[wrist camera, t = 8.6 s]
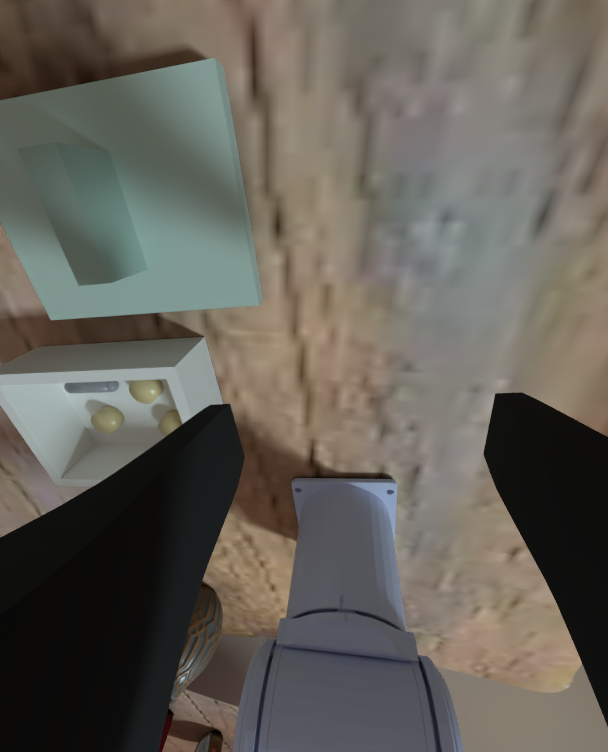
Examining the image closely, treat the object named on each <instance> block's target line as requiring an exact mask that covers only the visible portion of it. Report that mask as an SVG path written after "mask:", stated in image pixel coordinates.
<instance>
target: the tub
mask: <svg viewBox="0 0 608 752" xmlns="http://www.w3.org/2000/svg"><path fill="white" fill-rule="evenodd" d="M216 404H223V402H222V398H221V394H220V391H219V387H218V384H217V380H216V376H215V373H214V369H213V366H212V362H211V358H210V355H209V351H208V348H207V344H206V340H205V337H193V338H177V339H160V340H143V341H126V342H109V343H92V344H76V345H59V346H42V347H37V348H35V349H33V350H31V351H29V352H27V353H25V354H23V355H21V356H19V357H17V358H15V359H13V360H11V361H9V362H7V363H5V364H2V365H0V405H1V407H2V408H3V410H4V411H5V412H6V414H7V415H8V417H9V418H10V420H11V421H12V423H13V424H14V425H15V427H16V428H17V430H18V431H19V433H20V434H21V436H22V437H23V439H24V440H25V441H26V443H27V444H28V446H29V447H30V449H31V450H32V452H33V453H34V454H35V456H36V457H37V459H38V460H39V462H40V463H41V465H42V466H43V467H44V469H45V470H46V472H47V473H48V475H49V476H50V478H51V479H52V480H53V482H54V483H55V485H56V486H83V487H93V486H95V485H96V484H98V483H99V482H101V481H103V480H104V479H106V478H107V477H109V476H110V475H112V474H113V473H115V472H116V471H118V470H119V469H121V468H122V467H124V466H125V465H126V464H128V463H129V462H131V461H132V460H134V459H135V458H137V457H138V456H139V455H141V454H142V453H144V452H145V451H147V450H148V449H150V448H151V447H152V446H154V445H155V444H156V443H158V442H159V441H160V440H162V439H163V438H165V437H166V436H167V435H169V434H170V433H171V432H173V431H174V430H175V429H177V428H178V427H179V426H181V425H182V424H183V423H185V422H186V421H187V420H189V419H190V418H192V417H193V416H194V415H196V414H197V413H199V412H200V411H201V410H203V409H204V408H206V407H208V406H209V405H216Z"/></svg>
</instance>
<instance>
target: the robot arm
mask: <svg viewBox="0 0 608 752" xmlns="http://www.w3.org/2000/svg"><path fill="white" fill-rule="evenodd" d="M244 457H245V456H244V452H243V449H242V445H241V442H240V438H239V435H238V431H237V427H236V424H235V420H234V417H233V413H232V410H231V406H230V404H216V405H209V406H208V407H206V408H204V409H203V410H201V411H200V412H199V413H197V414H196V415H194V416H193V417H192V418H190V419H189V420H187V421H186V422H185V423H183V424H182V425H181V426H179V427H178V428H177V429H175V430H174V431H173V432H171V433H170V434H169V435H167V436H166V437H165V438H163V439H162V440H160V441H159V442H158V443H156V444H155V445H154V446H152V447H151V448H150V449H148V450H147V451H145V452H144V453H142V454H141V455H139V456H138V457H137V458H135V459H134V460H132V461H131V462H129V463H128V464H126V465H125V466H124V467H122V468H121V469H119V470H118V471H116V472H115V473H113V474H112V475H110V476H109V477H107V478H106V479H104V480H103V481H101V482H99V483H98V484H96V485H95V486H93V487H91V488H90V489H88V490H86V491H85V492H83V493H81V494H80V495H78V496H76V497H75V498H73V499H71V500H70V501H68V502H66V503H64V504H63V505H61V506H59V507H57V508H56V509H54V510H52V511H50V512H48V513H46V514H44V515H42V516H41V517H39V518H37V519H35V520H33V521H31V522H29V523H27V524H25V525H24V526H22V527H20V528H18V529H16V530H14V531H12V532H10V533H8V534H7V535H5V536H3V537H1V538H0V752H159V748H160V743H161V738H162V733H163V729H164V725H165V721H166V716H167V712H168V708H169V704H170V700H171V695H172V691H173V687H174V683H175V679H176V674H177V670H178V667H179V663H180V659H181V655H182V651H183V647H184V644H185V640H186V636H187V632H188V628H189V625H190V621H191V618H192V614H193V611H194V607H195V604H196V600H197V597H198V593H199V590H200V586H201V583H202V580H203V577H204V574H205V571H206V568H207V565H208V563H209V560H210V557H211V555H212V552H213V550H214V547H215V545H216V542H217V539H218V537H219V534H220V532H221V529H222V527H223V524H224V521H225V519H226V516H227V514H228V511H229V508H230V506H231V503H232V500H233V498H234V495H235V492H236V490H237V487H238V483H239V479H240V475H241V471H242V466H243V462H244ZM484 457H485V459H486V462H487V465H488V468H489V471H490V473H491V476H492V478H493V481H494V484H495V486H496V489H497V491H498V493H499V495H500V497H501V498H502V500H503V502H504V504H505V506H506V508H507V510H508V512H509V514H510V515H511V517H512V519H513V521H514V523H515V525H516V527H517V528H518V530H519V532H520V534H521V536H522V538H523V540H524V541H525V543H526V545H527V547H528V549H529V551H530V552H531V554H532V556H533V558H534V560H535V562H536V564H537V565H538V567H539V569H540V571H541V573H542V575H543V576H544V578H545V580H546V582H547V584H548V586H549V588H550V590H551V592H552V594H553V597H554V599H555V601H556V603H557V605H558V607H559V610H560V612H561V614H562V617H563V619H564V621H565V624H566V626H567V628H568V631H569V633H570V635H571V638H572V640H573V642H574V645H575V647H576V649H577V652H578V654H579V656H580V659H581V661H582V664H583V666H584V668H585V671H586V674H587V676H588V679H589V681H590V683H591V686H592V688H593V691H594V693H595V696H596V698H597V701H598V703H599V706H600V708H601V711H602V713H603V715H604V718H605V721H606V723H607V726H608V437H607V436H605V435H603V434H601V433H599V432H597V431H595V430H593V429H591V428H590V427H588V426H586V425H584V424H582V423H580V422H578V421H576V420H575V419H573V418H571V417H569V416H567V415H565V414H563V413H562V412H560V411H558V410H556V409H554V408H552V407H550V406H548V405H546V404H544V403H543V402H541V401H539V400H537V399H535V398H533V397H530V396H528V395H526V394H524V393H498V394H495V399H494V404H493V409H492V414H491V419H490V424H489V429H488V434H487V439H486V444H485V449H484ZM291 486H292V492H293V498H294V503H295V509H296V514H297V520H298V526H299V529H298V536H297V543H296V550H295V558H294V565H293V572H292V579H291V586H290V593H289V600H288V608H287V615H286V618H281V619H280V622H279V629H278V635H277V638H267V639H266V640H265V641H264V642H263V644H262V645H261V646H260V647H259V648H258V649H257V651H256V652H255V653H254V656H253V657H252V660H251V662H250V665H249V669H248V672H247V675H246V679H245V683H244V688H243V692H242V696H241V701H240V706H239V712H238V717H237V724H236V730H235V737H234V745H233V752H464V750H463V745H462V740H461V734H460V730H459V725H458V721H457V716H456V713H455V709H454V705H453V702H452V698H451V695H450V692H449V689H448V686H447V684H446V682H445V680H444V678H443V676H442V675H441V673H440V672H439V671H438V670H437V668H436V667H435V665H434V664H433V662H432V661H431V659H430V658H429V657H427V656H421V655H418V653H417V647H416V640H415V634H414V633H412V632H407V631H406V624H405V617H404V610H403V603H402V596H401V589H400V582H399V575H398V568H397V560H396V553H395V546H394V538H395V518H396V499H397V484H396V481H395V480H393V479H342V478H295V479H293V480H292V484H291ZM298 488H300V489H298Z"/></svg>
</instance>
